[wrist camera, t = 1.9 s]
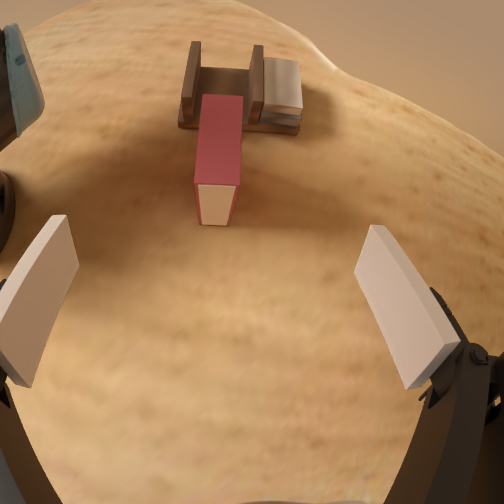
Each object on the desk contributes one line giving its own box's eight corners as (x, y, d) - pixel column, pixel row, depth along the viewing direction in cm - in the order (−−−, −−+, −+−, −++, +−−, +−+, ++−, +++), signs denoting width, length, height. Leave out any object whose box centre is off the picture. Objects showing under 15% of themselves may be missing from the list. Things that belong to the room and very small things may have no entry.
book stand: (178, 127, 38) (174, 97, 31) (187, 73, 39) (185, 41, 32) (296, 135, 40) (312, 107, 33) (293, 81, 41) (305, 51, 34)
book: (199, 225, 36) (193, 183, 23) (203, 159, 38) (202, 94, 24) (228, 226, 37) (240, 185, 23) (231, 160, 38) (243, 96, 24)
